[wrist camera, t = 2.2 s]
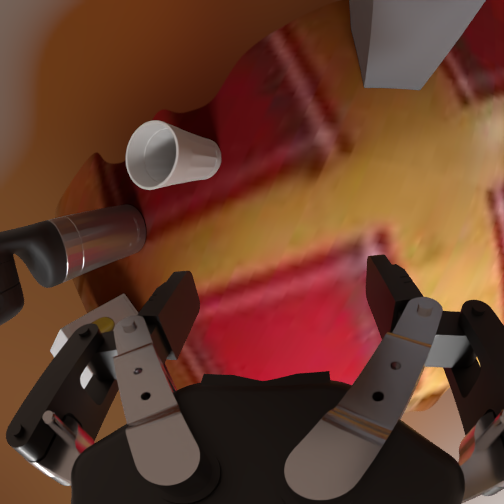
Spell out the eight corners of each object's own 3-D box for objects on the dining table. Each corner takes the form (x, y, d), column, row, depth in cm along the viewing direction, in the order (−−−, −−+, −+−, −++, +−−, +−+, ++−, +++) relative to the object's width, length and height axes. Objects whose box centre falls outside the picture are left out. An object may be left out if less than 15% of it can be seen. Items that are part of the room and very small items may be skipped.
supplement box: (163, 343, 51) (106, 392, 35) (136, 362, 57) (87, 403, 41) (124, 291, 51) (59, 327, 35) (103, 317, 57) (48, 350, 41)
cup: (188, 127, 38) (136, 115, 27) (233, 140, 36) (187, 127, 25) (174, 175, 41) (119, 178, 30) (216, 192, 39) (166, 199, 28)
